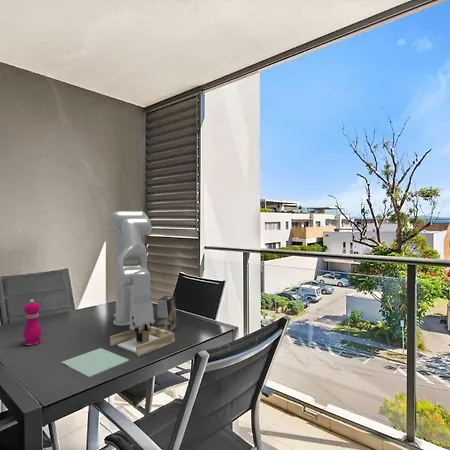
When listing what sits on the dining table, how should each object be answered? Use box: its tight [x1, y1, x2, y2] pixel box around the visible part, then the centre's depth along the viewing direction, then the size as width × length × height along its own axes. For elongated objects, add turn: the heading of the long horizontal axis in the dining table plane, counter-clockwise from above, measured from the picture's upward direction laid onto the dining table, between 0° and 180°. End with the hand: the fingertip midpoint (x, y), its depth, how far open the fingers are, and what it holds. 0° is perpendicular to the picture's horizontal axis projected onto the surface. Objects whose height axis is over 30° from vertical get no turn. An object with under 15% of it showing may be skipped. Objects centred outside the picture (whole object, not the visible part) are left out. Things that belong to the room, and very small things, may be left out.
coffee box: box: [156, 295, 176, 332], centre depth 167 cm, size 9×6×16 cm
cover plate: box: [117, 329, 158, 354], centre depth 149 cm, size 14×16×6 cm
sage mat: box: [60, 347, 130, 378], centre depth 131 cm, size 20×17×1 cm
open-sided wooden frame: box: [109, 325, 176, 358], centre depth 149 cm, size 20×20×4 cm
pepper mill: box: [22, 299, 43, 345], centre depth 151 cm, size 7×7×20 cm
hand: (142, 339), depth 148 cm, fingers closed on cover plate, 3 cm apart
